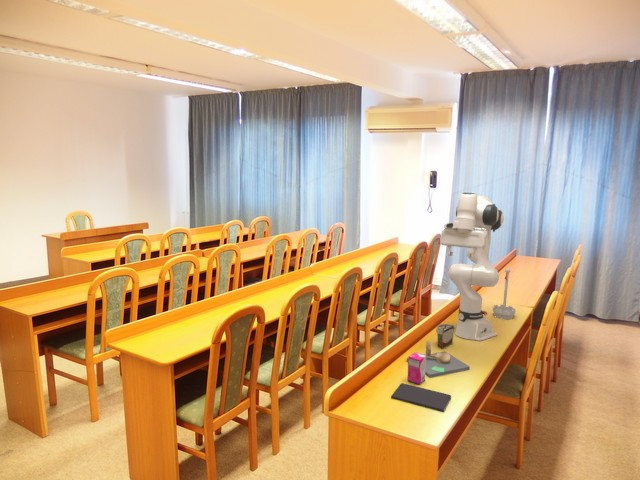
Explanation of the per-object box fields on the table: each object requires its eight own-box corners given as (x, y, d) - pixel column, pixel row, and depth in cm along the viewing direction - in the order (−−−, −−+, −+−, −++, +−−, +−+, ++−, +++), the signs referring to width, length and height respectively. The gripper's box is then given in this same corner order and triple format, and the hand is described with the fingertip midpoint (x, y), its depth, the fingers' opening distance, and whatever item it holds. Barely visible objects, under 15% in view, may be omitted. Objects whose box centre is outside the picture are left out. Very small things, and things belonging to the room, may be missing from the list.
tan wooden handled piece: (450, 359, 225) (451, 343, 224) (448, 364, 220) (449, 348, 218) (419, 354, 231) (420, 338, 229) (417, 359, 225) (418, 343, 224)
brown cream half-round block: (443, 339, 253) (444, 321, 251) (453, 343, 249) (455, 325, 247) (430, 346, 245) (431, 327, 243) (440, 349, 240) (442, 331, 238)
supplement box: (413, 376, 212) (414, 351, 210) (425, 380, 208) (426, 355, 206) (406, 380, 207) (408, 356, 205) (419, 385, 204) (420, 360, 202)
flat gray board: (444, 354, 235) (445, 350, 235) (470, 370, 219) (470, 366, 218) (406, 361, 227) (406, 357, 226) (430, 378, 210) (430, 374, 210)
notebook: (390, 399, 193) (443, 413, 183) (391, 395, 193) (444, 409, 183) (401, 386, 204) (451, 398, 194) (401, 382, 204) (451, 395, 194)
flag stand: (495, 311, 300) (499, 264, 294) (517, 315, 292) (522, 267, 287) (489, 316, 289) (493, 268, 284) (511, 321, 282) (516, 272, 276)
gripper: (489, 229, 216) (485, 260, 215) (444, 226, 227) (440, 255, 226) (486, 227, 211) (482, 258, 210) (440, 224, 222) (436, 253, 220)
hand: (460, 256), depth 218 cm, fingers open, 8 cm apart
